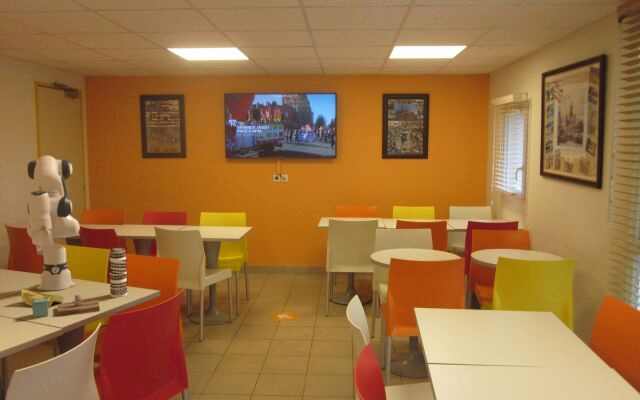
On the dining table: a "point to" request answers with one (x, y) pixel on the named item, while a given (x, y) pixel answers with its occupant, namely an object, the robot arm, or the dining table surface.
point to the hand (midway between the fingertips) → (42, 255)
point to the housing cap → (40, 307)
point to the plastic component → (39, 297)
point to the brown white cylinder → (118, 272)
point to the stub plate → (78, 307)
